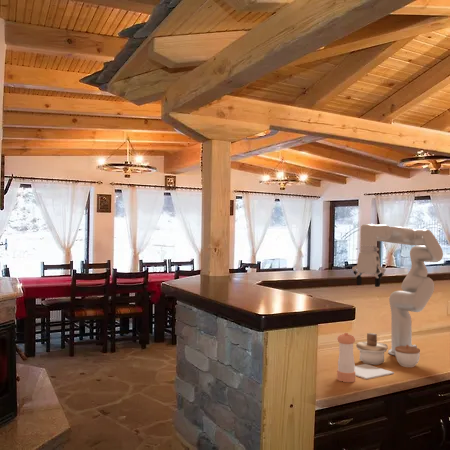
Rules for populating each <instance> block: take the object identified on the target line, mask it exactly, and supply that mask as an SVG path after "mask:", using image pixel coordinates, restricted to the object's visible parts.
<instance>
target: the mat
mask: <svg viewBox="0 0 450 450" xmlns="http://www.w3.org/2000/svg"><path fill="white" fill-rule="evenodd" d="M354 371H355V377H358V378H360V379H364V380H370V379H374V378H375V379H376V378H379V377H385V376H389V375H394V374H395V372H394V371H390V370H388V369H384V368H382V367H376V366H375V365H374V366H373V365H372V364H366V363H362V364H358V365H355V368H354Z"/></svg>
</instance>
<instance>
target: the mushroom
mask: <svg viewBox="0 0 450 450" xmlns="http://www.w3.org/2000/svg"><path fill="white" fill-rule="evenodd" d="M357 350H358V351H359V361H361V362H362V363H363V364H368V365H371V366H373V365H374V366H376V365H380V364H383V363H384V362H385V353H386V352H387V350H383V351H370V350H363V349H359V348H357Z"/></svg>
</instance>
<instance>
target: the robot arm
mask: <svg viewBox="0 0 450 450" xmlns="http://www.w3.org/2000/svg"><path fill="white" fill-rule="evenodd" d="M359 242H360V244H359V245H360V249H359V251H360V252H358V253H359V254H358V258H357V264H356V265H354V266H352V268H351V270H352V271H353V272H352V273H353V274H354V276H355V278H356V286H362V283H363V282H362V280H363V279H362V275H363V274H366V275H367V274H368V275H373V276H375V278H374V287H375V288H378V287H380V285H381V279H382V277H383V276H384V275H385V273H386V268H384V267H383V266H381V259H380V255H379V253H378V251H379V250H380V248H379V247H377V246H378V245H377V244H378V242H383V243H390V244H400V245H407V246H413V247H411V249H410V251H409V256H410V257H409V258H410V261H411V268H410V269H409V271H408V273H407V274H406V276H405V278H404V279H403V281H402V282H401V290H395V291H393V292H391V294H390V295H389V298H388V301H389V306H390V312H391V313H390V314H391V315H390V316H391V335H390V336H391V348H390V349H387V350H388V351H387V352H388V354H390V355H391V356H392V355H393V356H395V357H396V354H395V347H397V346H406V345H409V346H410V347H416V348H418V346H417V344H413V343H412V341H413V340H412V337H413V336H412V335H413V334H412V317H411V314H410V312H412V313H420V312H422V311H423V310H424V309H425V307H426V306H427V304H428V303H429V301H430V299H431V297H432V296H433V293H434V291H435V283H434V280H433V279H432V278H430V276H428V273H429V272H428V269H427V266H426V264H425V263H438V262H441V260H442V259H443V257H444V251H443V249H442V247H441V245H440V243H439V242H438V240H437V238H436V236H435V235H434V233H432V231H431V230H430V229H427V228H408V227H404V226H390V225H388V224H382V223H381V224H373V223H371V224H370V223H365V224H362V225H360V241H359Z"/></svg>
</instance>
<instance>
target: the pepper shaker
mask: <svg viewBox="0 0 450 450" xmlns="http://www.w3.org/2000/svg"><path fill="white" fill-rule="evenodd" d="M337 342H338V343H339V345H338V347H339V348H338V350H339V351H338V353H339V354H338V360H337V371H336V372H337V373H336V380H337V381H339V382H342V381H343V383H354V382H355V381H356V376H355V371H354V368H355V366H356V365H355V357H354V343H355V342H356V338H355V337H354V335H352V334H349V333H348V332H344V333H342V334H339V335H338V336H337Z"/></svg>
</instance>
